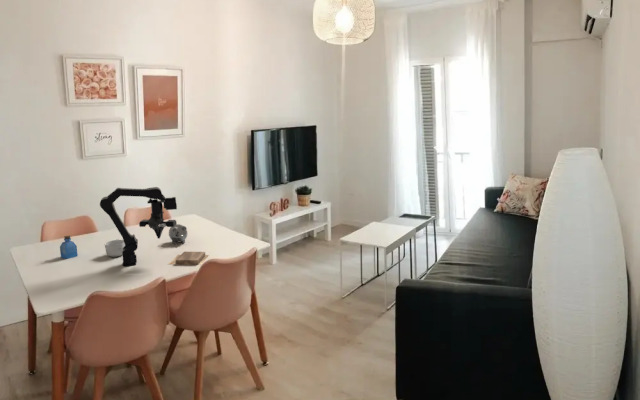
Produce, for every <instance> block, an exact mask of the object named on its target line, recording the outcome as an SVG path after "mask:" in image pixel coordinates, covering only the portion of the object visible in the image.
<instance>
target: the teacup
mask: <svg viewBox="0 0 640 400" xmlns="http://www.w3.org/2000/svg"><path fill="white" fill-rule="evenodd" d="M124 246H125V243H124V240H123V239H119V238H117V239H114V240H110V241H109V240H108V241H106V242H105V243H104V248H105V254H106V255H107V256H109V257H112V258H116V257H121V256H123V255H122V251H123V247H124Z"/></svg>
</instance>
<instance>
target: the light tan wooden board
mask: <svg viewBox="0 0 640 400" xmlns="http://www.w3.org/2000/svg"><path fill="white" fill-rule="evenodd" d="M180 255H181V254H177V255H176V256H175V257H174V258H172V260H171V261H170V262H169V263H168V265H176V266H177V265H183V266H186V265H187V266H188V265H189V266H190V265H192V266H200V265H203V263H204V262H205V260H206V259H207V258H208V257H210V255H209V254H205V257H204V258H203V259H202V260H201V262H200V263H199V264H198V265H196V264H176V259H177V258H178V257H179V256H180Z"/></svg>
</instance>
